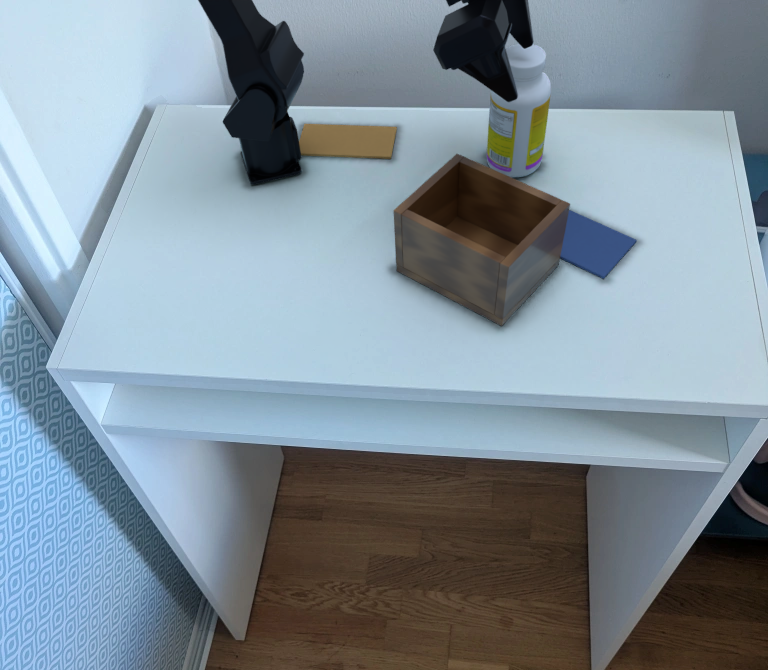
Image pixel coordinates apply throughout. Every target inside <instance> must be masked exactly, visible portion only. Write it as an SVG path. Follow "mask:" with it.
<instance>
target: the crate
mask: <svg viewBox="0 0 768 670" xmlns="http://www.w3.org/2000/svg"><path fill="white" fill-rule="evenodd" d="M570 208H571V203H570V202H568V201H566V200H562V199H561V198H559V197H556V196H554V195H552V194H550V193H547V192H545V191H543V190H540V189H539V188H536V187H534V186H532V185H529V184H528V183H525V182H522V181H520V180H518V179H516V178H515V177H509V176H507V175H505V174H502V173H500V172H498V171H496V170H493V169H491V168H490V167H489V166H488V165H487V166H486V165H484V164H482V163H479V162H478V161H476V160H473V159H471V158H469V157H466V156H464V155H462V154H460V153H456V154H454V156H452V157H451V158H450V159H449V160H448V161H447V162H446V163H444V165H442V166H441V167H440V168H439V169H437V170H436V172H435V173H433V174H432V175H431V176H430V177H429V178H428V179H427V180H425V181H424V182H423V183H422V184H421V185H420V186H419V187H418V188H416V189H415V190H414V192H412V193H411V194H410V195H408V197H406V198H405V200H403V201H402V202H401V203H400V204H399V205H398V206H397V207H396V208H394V209H393V211H392V212H393V230H394V231H393V232H394V249H395V250H394V251H395V268H396V272H398V273H400V274H402V275H404V276H406V277H407V278H409V279H411V280H413V281H415V282H417V283H419V284H421V285H423V286H425V287H427V288H428V289H430V290H433V292H436V293H438V294H439V295H442V296H444V297H446V298H448V299H450V300H451V301H453V302H455V303H457V304H459V305H461V306H462V307H464V308H466V309H468V310H470V311H472V312H474V313H475V314H478V315H480V316H482V317H483V318H485V319H488V320H489V321H491V322H493V323H495V324H497V325H499V326H501V327H503V325H504V324H506V322H507V321H508V320H509V319H510V318H511V317H512V316H513V315H514V314H515V312H517V311H518V310H519V308H520V307H521V306H522V305H523V304H524V303H525V302H526V301H527V300H528V299H529V297H530V296H531V295H532V294H533V293H534V292H535V291H536V290H537V289H538V288H539V287H540V286H541V285H542V283H544V281H545V280H546V279H548V277H549V276H550V275H551V274H552V273H553V272H554V271H555V270H556V269H557V267H558V266H559V265H560V260H561V258H560V255H561V250H562V245H563V240H564V234H565V229H566V224H567V219H568V213H569V210H570Z"/></svg>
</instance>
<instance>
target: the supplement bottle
mask: <svg viewBox="0 0 768 670" xmlns="http://www.w3.org/2000/svg"><path fill="white" fill-rule="evenodd" d="M505 49H506V52H507V56H508V59H509V63H510V66H511V70H512V73H513V77H514V80H515V84H516V89H517V93H518V97H517V99H516V100H514V101H511V102H507V101H505V100H504V99H503V98H501V97H500V96H498V95H497V94H496V93H494V92H493V91H492V90H490V94H489V113H488V125H487V141H486V142H487V143H486V161H487V164H488V165H487V166H488V167H489V168H491V169H493V170H496V171H498V172H500V173H502V174H505V175H507V176H509V177H511V178H523V177H526V176H528V175H529V176H530V175H531V174H532V173H534V172H535V171H537V170H538V169H539V167H540V165H541V164H542V161H543V155H544V147H545V139H546V132H547V124H548V117H549V109H550V101H551V97H552V96H551V95H552V82H551V80H550V78H549V76H548V74H547V73H545V72H544V70H545V69H546V63H547V53H546V51H545V49H544V48H542V47H541V46H540V45H537V44H534V43H533V45H532V46H530V47H528V48H526V49H524V48H522V46H521V45H520V44H519V43H515V44H512V45H510V46H507V47H505Z"/></svg>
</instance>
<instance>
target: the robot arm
mask: <svg viewBox="0 0 768 670" xmlns="http://www.w3.org/2000/svg"><path fill="white" fill-rule="evenodd" d="M197 1H198V3H199V6H201V8H202V10H203V12H204V13H205V15H206V17H207V19H208V20H209V22H210V24H211V25H212V27H213V29H214V31H215V32H216V34H217V36H218V38H219V39H220V41H221V44H222V48H223V54H224V60H225V65H226V72H227V77H228V80H229V82H230V84H231V87H232V89H233V91H234V94H235V98H234V100H233V101H232V103H231V105H230V106H229V108H228V110H227V112H226V114H225V116H224V118H223V120H222V124H223V126H224V127H225V129H226V131H227V132H228V134H229V135H230V137H231V138H233V139H238V142H239V146H240V149H241V151H240V156H241V160H242V163H243V166H244V169H245V172H246V175H247V178H248V183H249V184H250V186H255V185H260V184H263V183H268V182H272V181H277V180H281V179H286V178H289V177H294V176H298V175H301V174H302V171H303V170H302V166H301V164H300V162H299V161H301V160H302V157H303V156H301V151H300V145H299V140H300V138H299V133H298V128H297V126H296V124H295V121H294V118H293V117H292V116H290V114H289V112H288V111H289V108H290V106H291V105H292V102H293V101H294V99H295V97H296V95H297V92H298V91H299V89H300V86H301V85H302V82H303V78H304V73H305V67H304V64H303V60H302V59H303V58H304V56H305V52H303V50H301V48H300V47H299V45H297V43H296V42H295V40H294V37H293V34H292V31H291V28H290V25H288V23H287V21H285V20H282V21H280V22H279V23H277V24H276V25H275V24H273V23H272V22H271V21H269V20H268V19H267V18H266V17H264V16H263V15H262V14H261V13H260V11H259V10H258V9H257V6H256V5H255V3H254V1H253V0H197ZM445 2H446V4H447V6H448V7H449V8H450V7H452V6H453V5H456V4H457V3H460V2H462V4H463V5H464V6H462V7H460V8H457V9H456V10H454V11H452V12H450V13H448V14H446V15H445V16H444V18H443V21H442V23H441V26H440V28H439V31H438V33H437V36H436V39H435V43H434V46H433V53H434V55H435V57H436V59H437V60H438V63H439V64H440V65H439V66H440V67H441V69H442V70H446V71H447V70H450V69H451V70H452V71H456V70H459V71H461V72H463V73H464V74H466V75H468V76H469V77H471V78H473V79H474V80H476V81H478V82H479V83H480V84H482V85H483V86H485V87H486V88H487V89H489V90H490V91H491V90H492V91H493V92H494V93H496V94H497V95H498V96H500V97H501V98H503V99H504V100H505V101H507V102H511V101H514V100H516V99H517V97H518V93H517V89H516V84H515V80H514V77H513V73H512V70H511V66H510V63H509V59H508V56H507V52H506V44H507V42H508V39H509V37H510V36H511V37H512V38H513V39H514V40H515V41H516V42H517V44H520V45H521V46H522V48H524V49H526V48H528V47H530V46H532V45H533V44H534V36H533V35H534V33H533V27H532V19H531V13H530V5H529V4H530V3H529V0H445ZM465 4H466V5H465Z"/></svg>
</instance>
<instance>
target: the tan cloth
mask: <svg viewBox="0 0 768 670" xmlns="http://www.w3.org/2000/svg"><path fill="white" fill-rule="evenodd" d="M397 132H398V126H387V125H360V124H359V125H358V124H357V125H355V124H331V123H329V124H326V123H304V124H303V127H302V130H301V134H300V137H299V145H300V151H301V157H328V158H329V157H330V158H355V159H379V160H380V159H381V160H391V159H392V157H393V151H394V146H395V141H396V137H397Z"/></svg>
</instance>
